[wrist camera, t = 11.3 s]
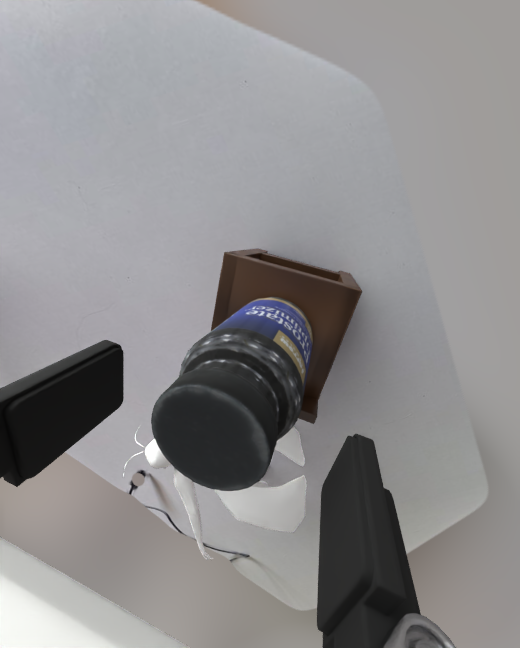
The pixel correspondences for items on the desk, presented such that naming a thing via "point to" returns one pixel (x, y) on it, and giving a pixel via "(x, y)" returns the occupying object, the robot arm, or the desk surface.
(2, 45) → the desk surface
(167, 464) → the figurine
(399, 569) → the robot arm
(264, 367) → the pill bottle
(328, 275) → the shelf
